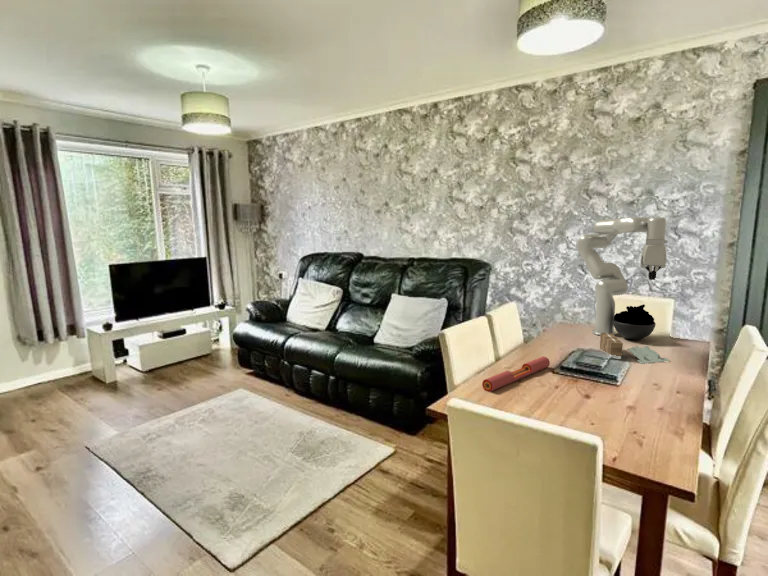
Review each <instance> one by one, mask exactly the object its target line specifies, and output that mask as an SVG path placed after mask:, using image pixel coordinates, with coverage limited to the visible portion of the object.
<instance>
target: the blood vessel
mask: <svg viewBox="0 0 768 576" xmlns="http://www.w3.org/2000/svg"><path fill="white" fill-rule="evenodd" d="M550 365H551V364H550V360H549V358H548V357H547V356H541V357H538V358H535V359H533V360H530V361H528V362H526V363H523V364H522V365H521V368H519V369H517V370H514V371H510V370H506V371H503V372H500V373H497V374H495V375H492V376H490V377H488V378H486V379H483V381H482V383H481V385H482V388H483V390H484V391H486V392H489V393H491V392H493V391H496V390H498V389H500V388H502V387H505V386H507V385H510V384H512V383H514V382H517V381H518V380H521V379H523V378H525V377H529V376H530V375H533V374H535V373H537V372H540V371H541V370H544V369H546V368H548V367H549V366H550ZM539 370H540V371H539Z"/></svg>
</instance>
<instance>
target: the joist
mask: <svg viewBox="0 0 768 576" xmlns="http://www.w3.org/2000/svg"><path fill="white" fill-rule="evenodd" d="M599 339H600V342H599V349H600V350H601V351H602V350H603V351H605V352H607V353H609V354H611V355H616V356H622V357H623V347H624V346H623V345H624V343H623V342H622V341H621V340H620V339H619V338H617V336H616V335H615V336H614V335H613V334H612V333H601V336H600V338H599ZM603 351H602V352H603Z"/></svg>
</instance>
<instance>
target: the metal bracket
mask: <svg viewBox="0 0 768 576" xmlns="http://www.w3.org/2000/svg"><path fill="white" fill-rule="evenodd" d="M626 350H627V351H628V352H630V353H631V356H632V355H634V357H636V358H637V360H636V361H637V362H638V364H641V365H648V364H655V363H654V362H659V363H665V362H664V361H670V362H671V360H670V359H668V358H667V357H661V356H660V354H659V353H658V352H656V350H654V349H651V348H650V347H649V346H648V345H645V346H642V347H639V346H638V345H635V347H634V346H632V347H631V348H627V349H626ZM645 363H646V364H645ZM647 363H648V364H647Z"/></svg>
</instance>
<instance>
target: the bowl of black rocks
mask: <svg viewBox="0 0 768 576" xmlns="http://www.w3.org/2000/svg"><path fill="white" fill-rule="evenodd" d="M645 307H646V305H645V303H644V304H641V305H638V306H635V305H634V306H633V305H630V306H629V305H628V306H627V305H626V310H624V311H620V312H619V313H618V312H615V316H614V319H613V325H614V330H615V332H616V333H618V334H619V335H620V336H621V337H623V338H625V339H628V340H631V341H632V340H633V341H638V340H642V339H645V338H647V337H649V335H651V334H652V333H653V331H654V330H655V327H656V325H657V324H656V322H655V317H653V315H652V314H650V312H649V311H647V310H646V309H644V308H645Z"/></svg>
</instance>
